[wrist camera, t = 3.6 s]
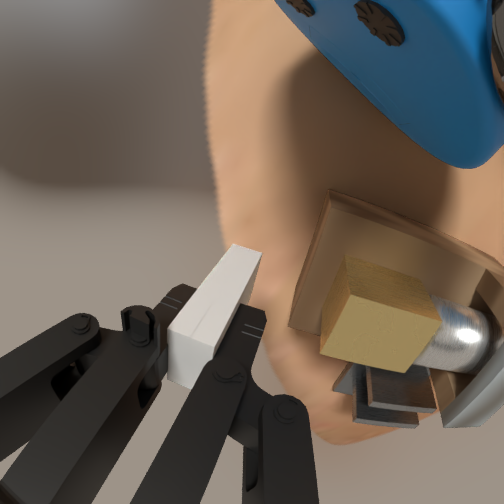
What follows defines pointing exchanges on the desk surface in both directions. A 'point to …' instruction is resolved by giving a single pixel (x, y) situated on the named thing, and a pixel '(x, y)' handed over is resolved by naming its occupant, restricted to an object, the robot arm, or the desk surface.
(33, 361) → the robot arm
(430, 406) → the grey slotted plate stand
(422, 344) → the tan rectangular block
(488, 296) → the beam
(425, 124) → the alarm clock
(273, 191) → the desk surface
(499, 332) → the axle
